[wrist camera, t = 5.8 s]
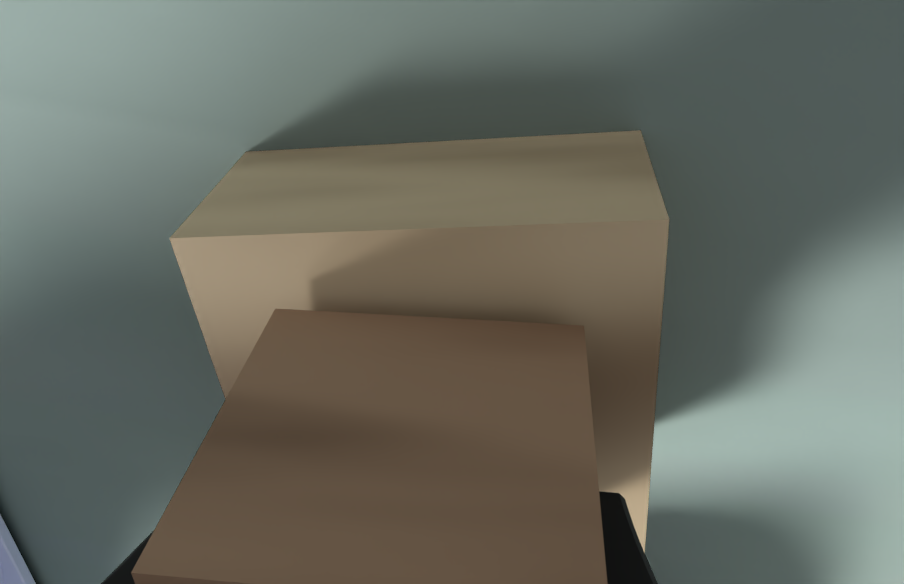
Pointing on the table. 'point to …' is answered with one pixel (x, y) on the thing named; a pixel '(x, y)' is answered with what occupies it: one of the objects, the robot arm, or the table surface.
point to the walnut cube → (393, 459)
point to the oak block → (452, 256)
